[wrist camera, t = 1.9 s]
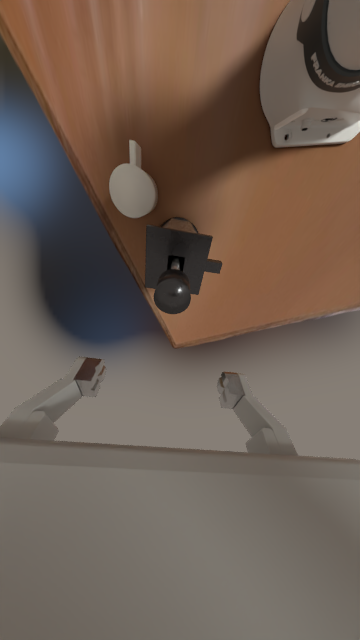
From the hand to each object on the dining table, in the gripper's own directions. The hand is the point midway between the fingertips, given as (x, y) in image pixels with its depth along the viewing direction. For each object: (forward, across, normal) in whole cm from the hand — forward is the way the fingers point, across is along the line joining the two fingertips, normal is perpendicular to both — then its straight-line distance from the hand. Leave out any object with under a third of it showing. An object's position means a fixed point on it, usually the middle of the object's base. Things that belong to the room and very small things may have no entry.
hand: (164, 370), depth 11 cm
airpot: (+40, -2, 0) cm, 41 cm away
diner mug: (+41, +10, -10) cm, 43 cm away
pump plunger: (+31, 0, 0) cm, 31 cm away
